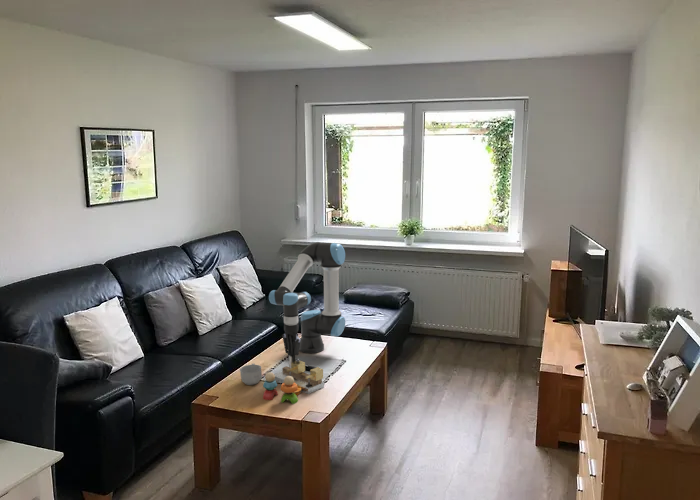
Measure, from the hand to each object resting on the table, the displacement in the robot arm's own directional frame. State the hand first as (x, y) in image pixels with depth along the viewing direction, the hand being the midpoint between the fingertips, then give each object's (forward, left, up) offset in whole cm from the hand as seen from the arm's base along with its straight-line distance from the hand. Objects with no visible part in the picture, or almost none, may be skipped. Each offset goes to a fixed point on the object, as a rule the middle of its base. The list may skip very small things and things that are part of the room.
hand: (292, 367), depth 294 cm
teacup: (+16, -13, -6) cm, 22 cm away
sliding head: (+2, +4, -3) cm, 6 cm away
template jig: (+3, +7, -6) cm, 10 cm away
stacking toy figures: (+18, +13, -6) cm, 23 cm away
